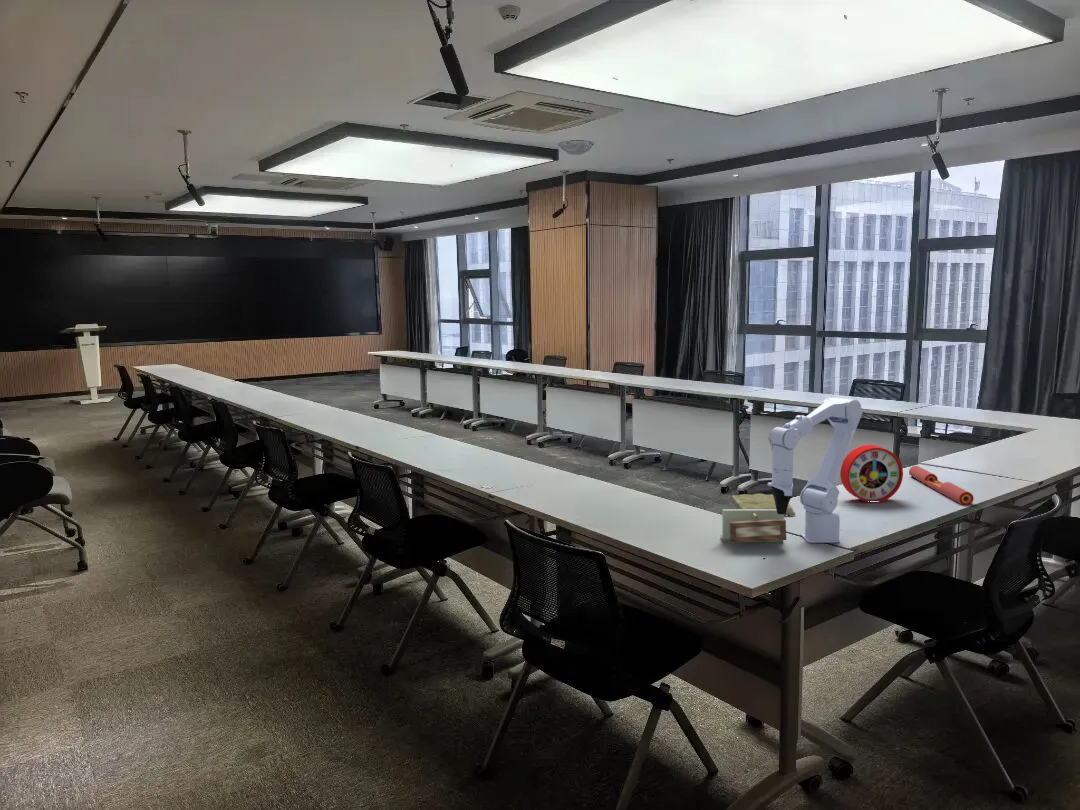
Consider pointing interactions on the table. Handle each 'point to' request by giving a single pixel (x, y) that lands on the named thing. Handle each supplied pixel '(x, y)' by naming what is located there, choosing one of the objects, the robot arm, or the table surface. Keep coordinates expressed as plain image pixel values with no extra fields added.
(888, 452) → the toy clock
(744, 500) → the decorative tile
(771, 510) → the curved green slab
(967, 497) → the blood vessel
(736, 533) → the picture frame
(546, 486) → the table surface
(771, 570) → the table surface
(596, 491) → the table surface
